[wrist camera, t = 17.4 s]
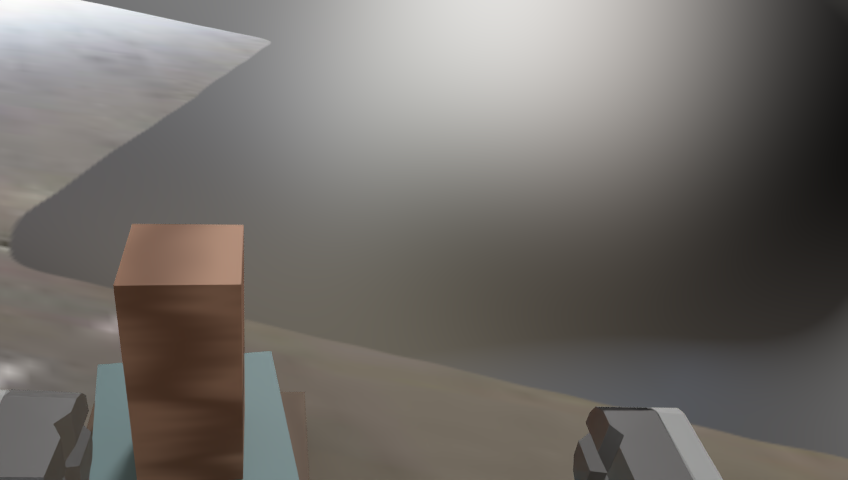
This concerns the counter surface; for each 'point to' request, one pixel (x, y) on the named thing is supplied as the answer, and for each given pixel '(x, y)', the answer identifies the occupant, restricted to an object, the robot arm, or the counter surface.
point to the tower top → (263, 427)
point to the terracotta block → (184, 349)
